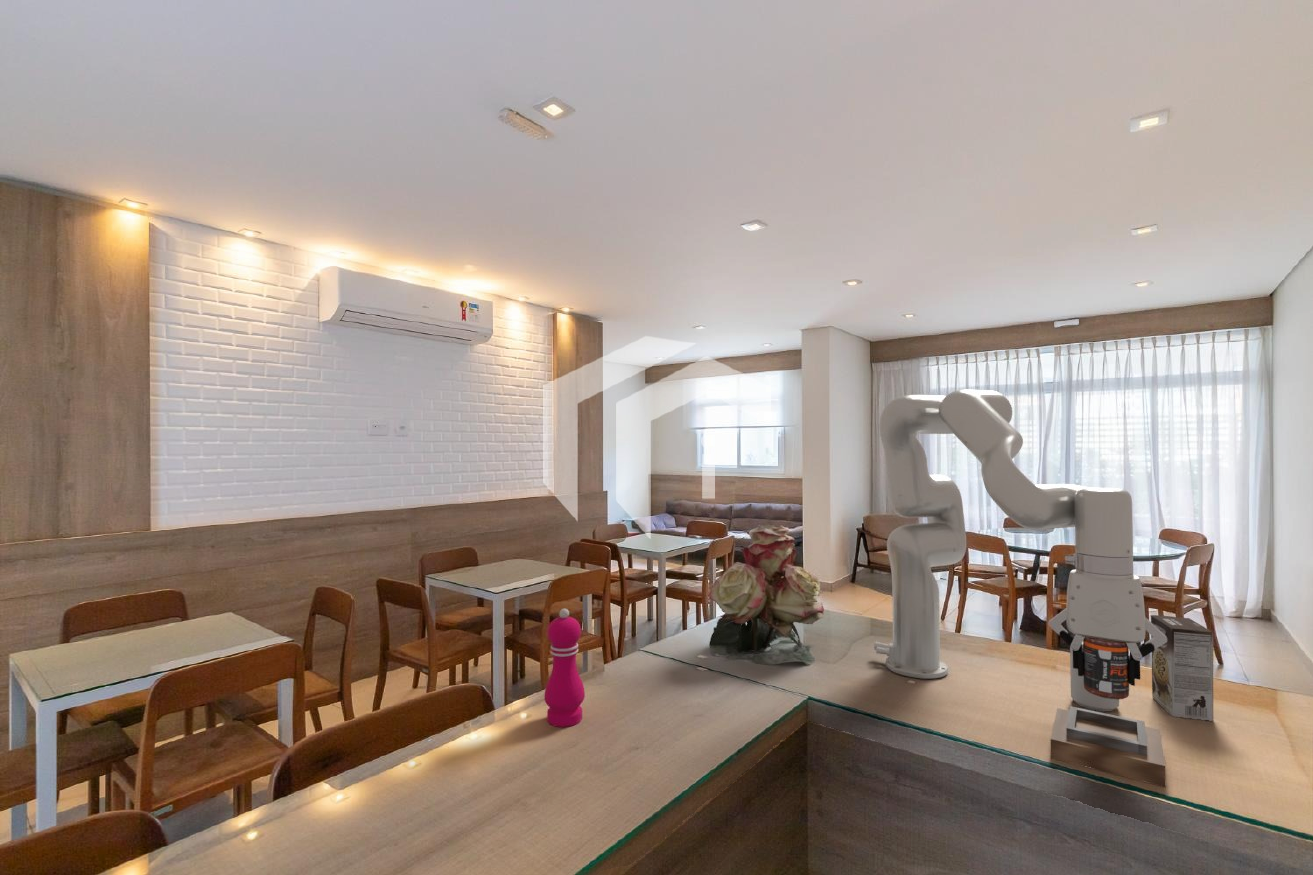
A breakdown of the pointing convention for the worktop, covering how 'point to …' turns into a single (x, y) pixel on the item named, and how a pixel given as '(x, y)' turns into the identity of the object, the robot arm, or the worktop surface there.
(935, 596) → the robot arm
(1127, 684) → the supplement bottle
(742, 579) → the rose bouquet
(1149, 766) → the display pedestal
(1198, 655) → the coffee box
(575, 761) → the worktop surface
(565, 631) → the pepper mill
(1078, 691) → the can
